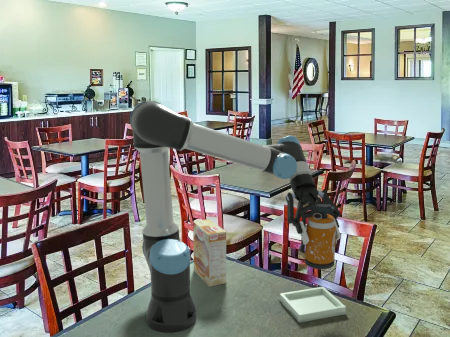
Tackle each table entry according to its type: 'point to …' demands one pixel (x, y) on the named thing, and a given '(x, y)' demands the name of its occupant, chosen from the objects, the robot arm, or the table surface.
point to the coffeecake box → (209, 252)
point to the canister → (319, 236)
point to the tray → (312, 304)
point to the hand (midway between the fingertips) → (322, 240)
